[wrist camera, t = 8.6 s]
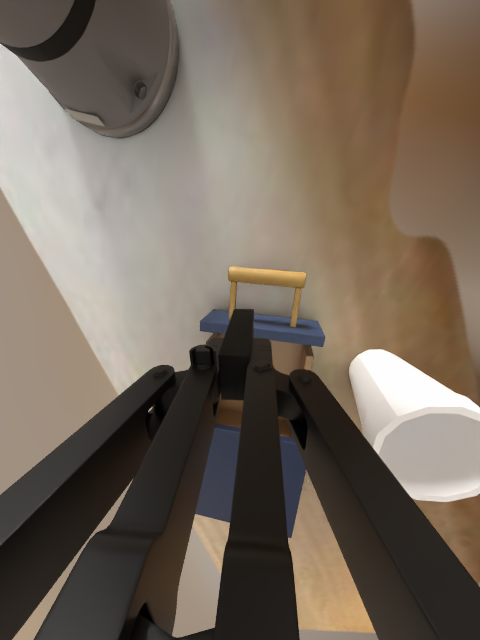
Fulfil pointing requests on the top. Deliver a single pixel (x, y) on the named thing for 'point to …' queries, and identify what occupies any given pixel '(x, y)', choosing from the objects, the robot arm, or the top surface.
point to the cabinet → (223, 469)
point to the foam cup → (418, 427)
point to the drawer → (268, 334)
